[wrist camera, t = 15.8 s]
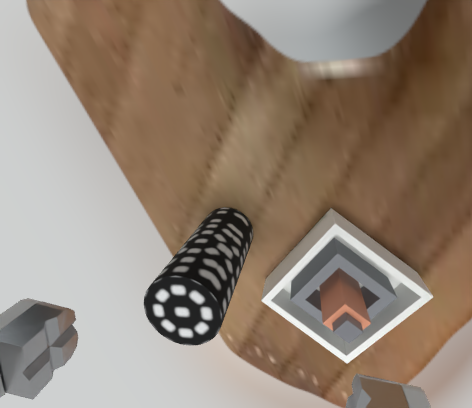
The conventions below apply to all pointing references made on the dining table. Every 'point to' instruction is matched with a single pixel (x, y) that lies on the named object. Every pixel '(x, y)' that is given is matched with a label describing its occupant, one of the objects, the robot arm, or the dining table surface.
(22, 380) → the robot arm
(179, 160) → the dining table surface
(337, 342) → the walled box
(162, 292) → the spotted tube
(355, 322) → the connector
